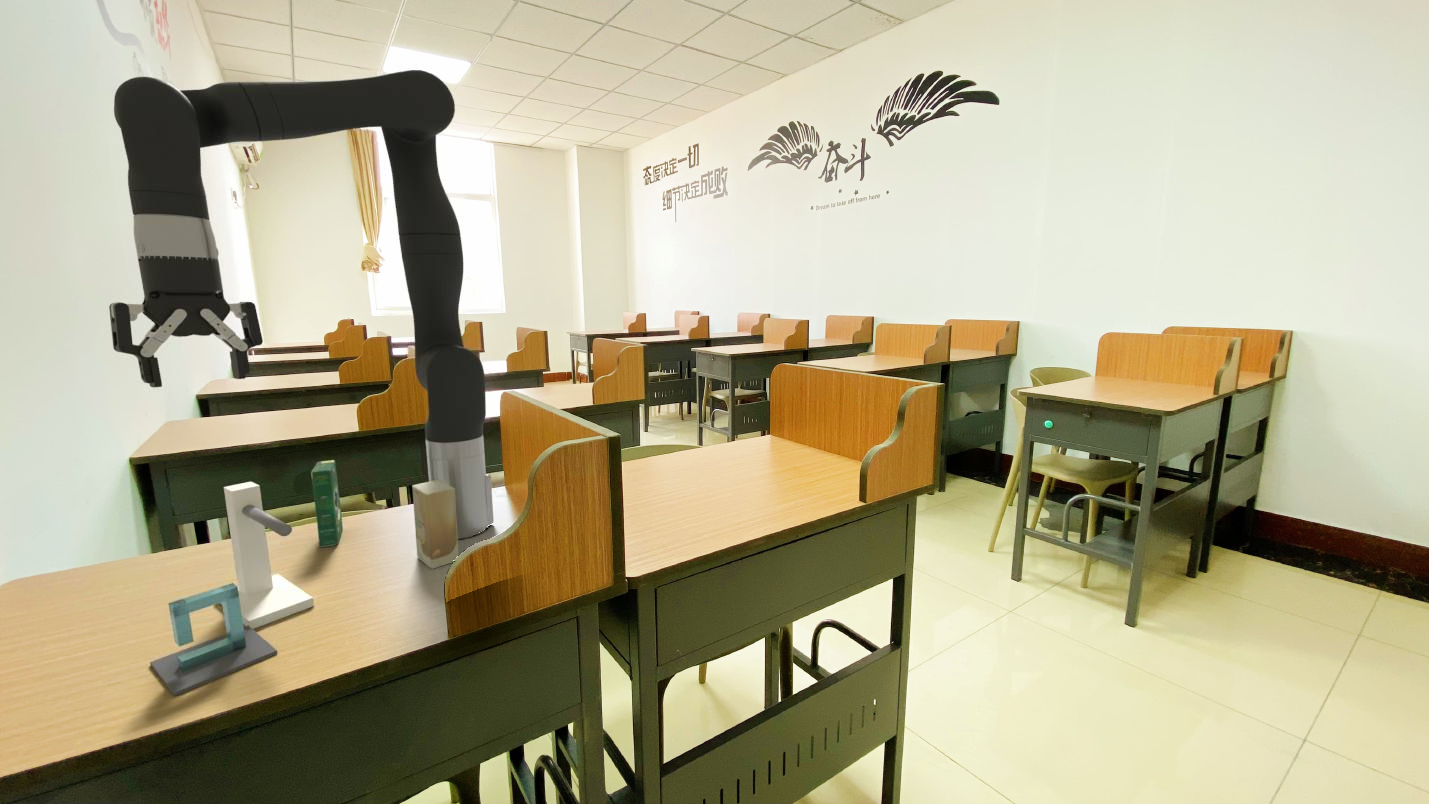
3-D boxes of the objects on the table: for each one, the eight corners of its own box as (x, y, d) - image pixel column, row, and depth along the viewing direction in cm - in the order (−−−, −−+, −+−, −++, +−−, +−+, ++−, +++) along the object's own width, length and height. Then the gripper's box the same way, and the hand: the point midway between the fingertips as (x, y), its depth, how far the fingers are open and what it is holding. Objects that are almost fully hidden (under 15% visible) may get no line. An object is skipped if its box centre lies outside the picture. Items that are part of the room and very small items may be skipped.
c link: (241, 642, 68) (232, 582, 67) (246, 646, 67) (237, 586, 66) (179, 666, 64) (168, 603, 62) (183, 671, 63) (172, 607, 61)
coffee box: (324, 531, 102) (316, 460, 100) (343, 528, 103) (336, 458, 101) (318, 548, 95) (309, 472, 93) (338, 545, 96) (330, 469, 94)
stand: (278, 581, 84) (264, 476, 81) (328, 616, 75) (315, 498, 72) (217, 601, 78) (200, 488, 75) (264, 641, 69) (246, 515, 66)
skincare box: (416, 557, 92) (409, 484, 90) (443, 549, 95) (438, 478, 93) (432, 570, 88) (426, 493, 86) (460, 561, 91) (455, 487, 89)
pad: (248, 628, 72) (248, 625, 72) (277, 653, 67) (276, 650, 67) (150, 665, 64) (150, 661, 64) (174, 696, 59) (173, 692, 59)
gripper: (236, 259, 80) (253, 374, 83) (89, 253, 68) (115, 387, 71) (258, 257, 76) (275, 378, 79) (106, 250, 64) (133, 392, 67)
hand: (199, 382), depth 75 cm, fingers open, 8 cm apart
